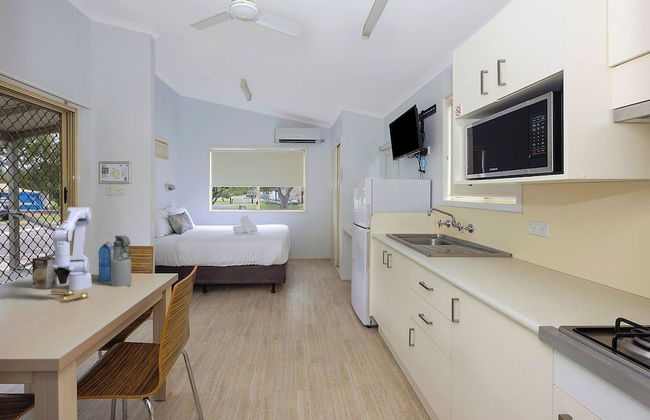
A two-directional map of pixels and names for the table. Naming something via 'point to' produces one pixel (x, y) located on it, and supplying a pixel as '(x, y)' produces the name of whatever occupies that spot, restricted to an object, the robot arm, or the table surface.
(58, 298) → the base
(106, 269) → the blue plastic bottle
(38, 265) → the coffee box
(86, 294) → the lever
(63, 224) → the robot arm
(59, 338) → the table surface
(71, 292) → the lever
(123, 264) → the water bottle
